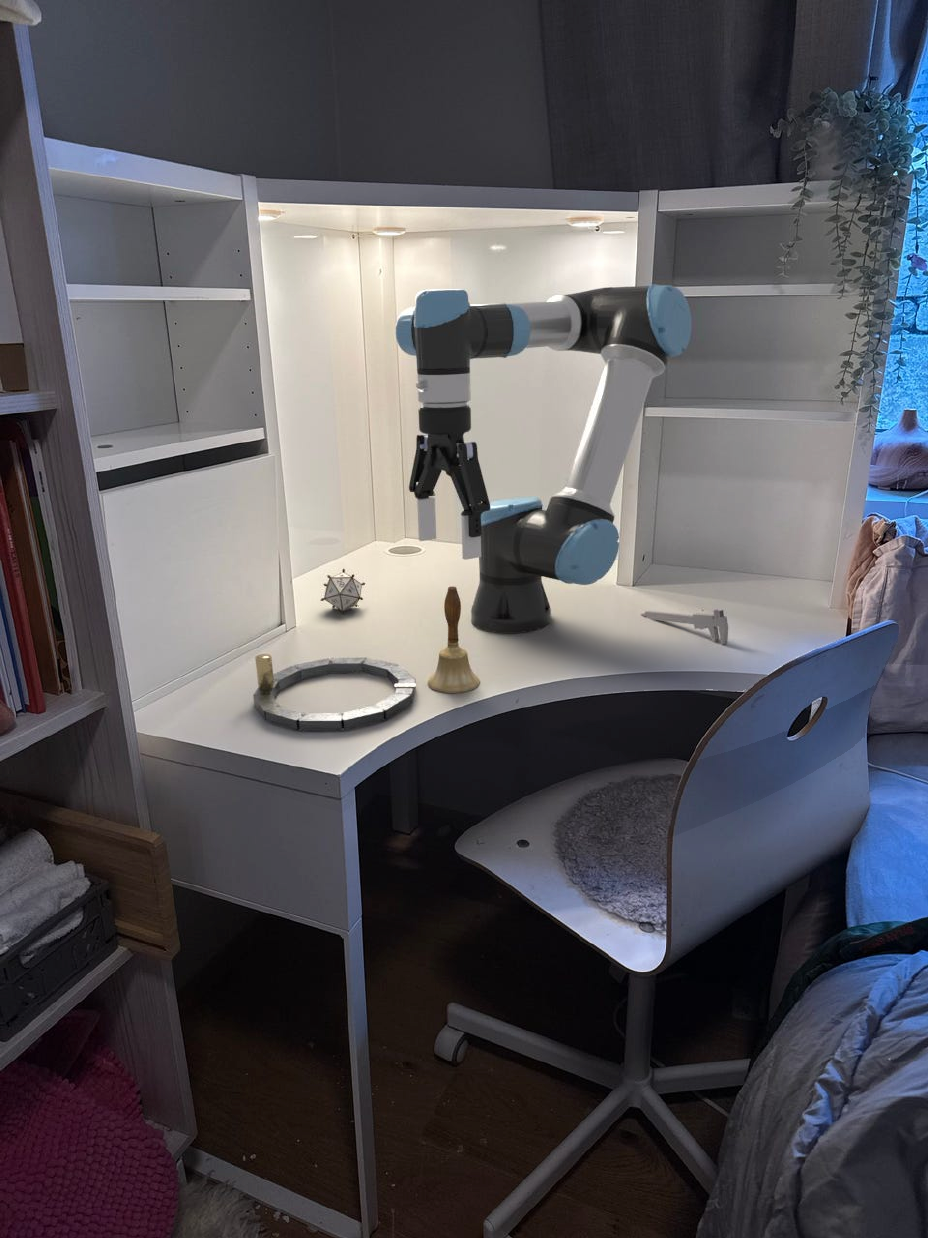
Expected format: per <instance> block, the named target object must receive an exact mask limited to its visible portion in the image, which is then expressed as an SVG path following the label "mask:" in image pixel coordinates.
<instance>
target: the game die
mask: <svg viewBox="0 0 928 1238" xmlns="http://www.w3.org/2000/svg"><path fill="white" fill-rule="evenodd" d="M326 576H327V578H328V581H327V583H323V586H324V587H325V591H324V597H322V598H320V601H321V602H323V601H326V602H327V603H328V604H331V605H332V606H331V607H332V609H335V608H336V609H338V610H339V611H341V615H344V614H345V611H347V610H350V609H351V608H353V607H355V608H356V607H357V606H358V607H359V605H358V603H359V601H360V600H361V601H363V600H364V597H362V596H361V593H362V589H363V588H362V587H363V586H365V585H366V582H362V583H361V582H360V581H359V580H358V579H355V574H354V573H353V574H351V575H350V574H347V573H346V569H345V568H342V572H340V573H338V574H336V575H333V576H331V575H330V574H327V575H326Z"/></svg>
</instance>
